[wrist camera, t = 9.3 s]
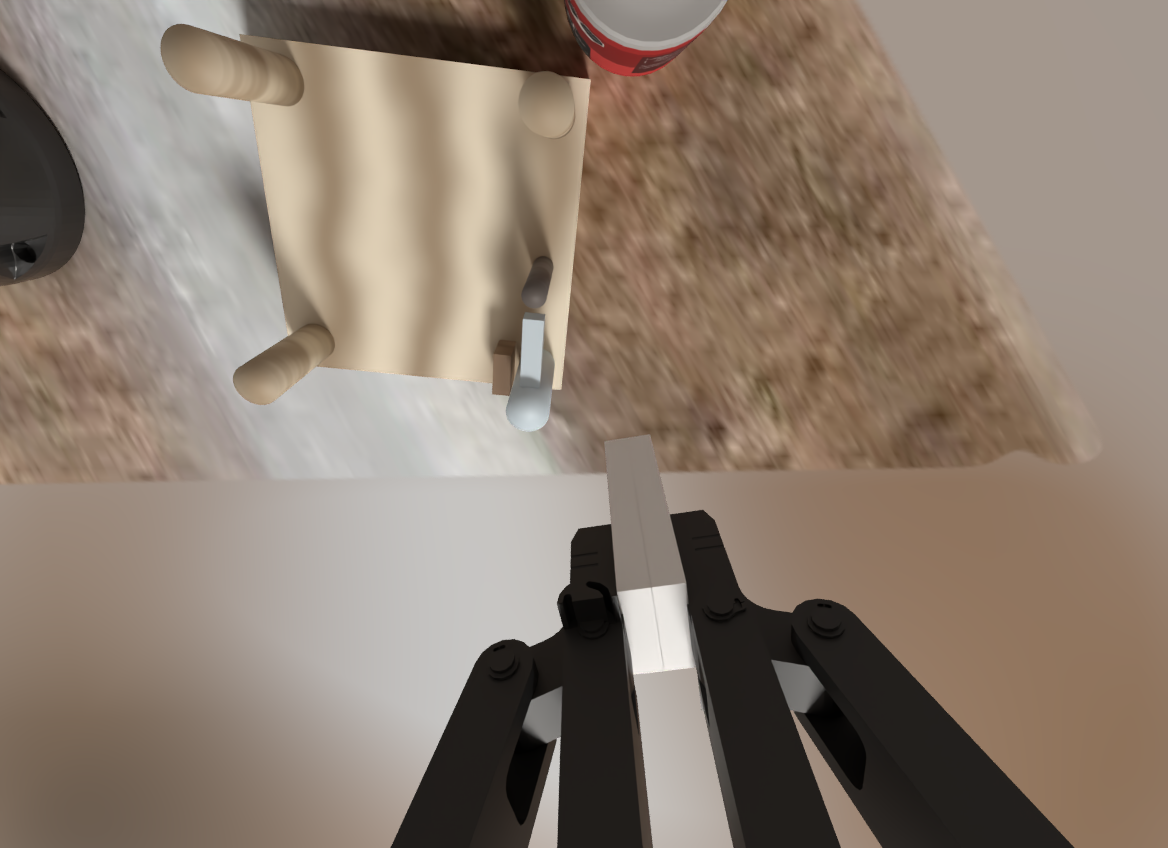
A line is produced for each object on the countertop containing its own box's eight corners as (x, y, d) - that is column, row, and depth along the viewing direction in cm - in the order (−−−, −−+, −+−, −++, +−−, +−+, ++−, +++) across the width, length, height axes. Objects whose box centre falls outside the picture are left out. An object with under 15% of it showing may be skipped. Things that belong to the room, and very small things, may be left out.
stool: (308, 352, 41) (228, 411, 32) (263, 42, 32) (132, -3, 23) (562, 377, 42) (556, 441, 33) (589, 84, 33) (593, 58, 24)
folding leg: (518, 378, 39) (505, 429, 32) (522, 288, 36) (508, 321, 29) (553, 382, 39) (547, 433, 32) (560, 291, 36) (555, 326, 29)
